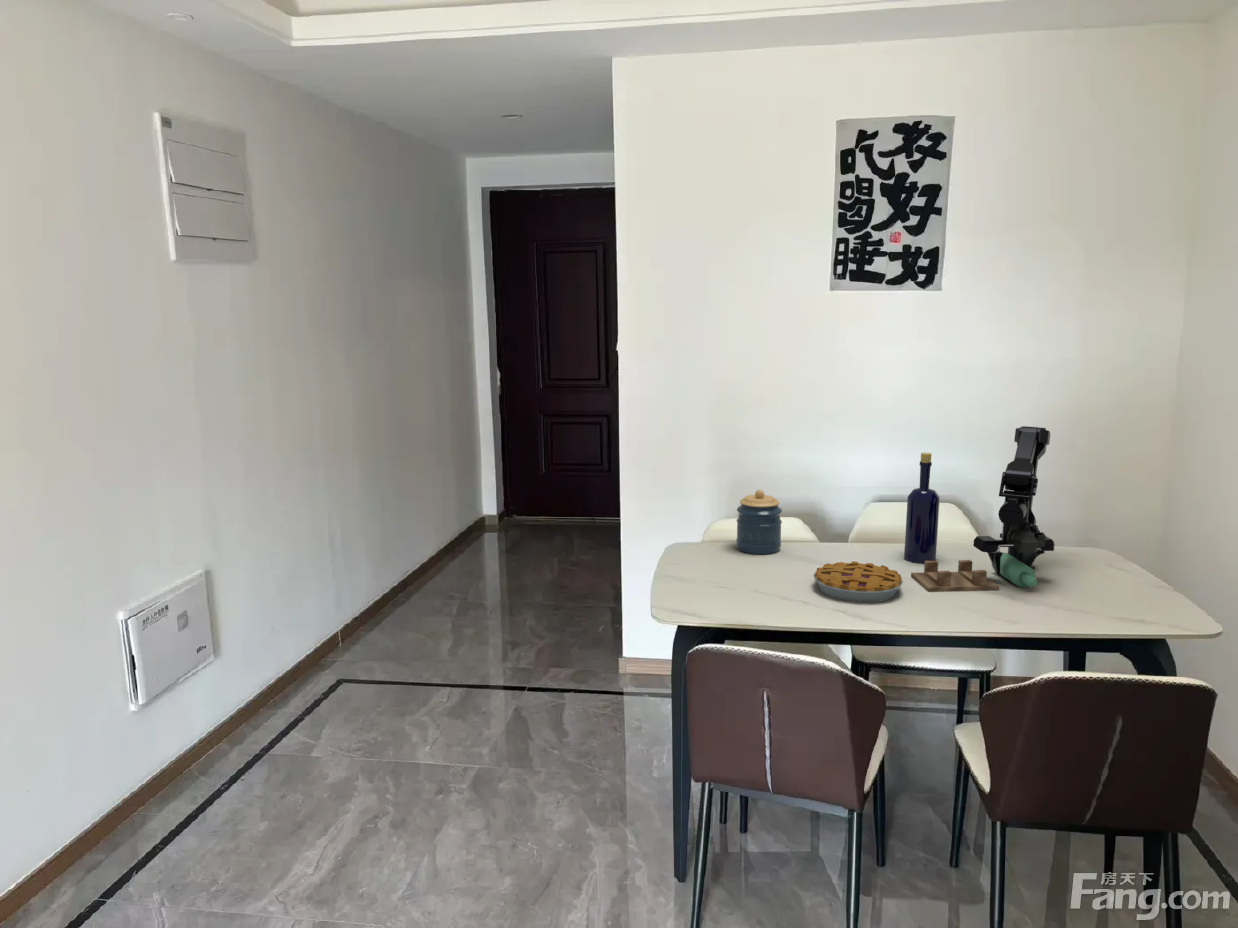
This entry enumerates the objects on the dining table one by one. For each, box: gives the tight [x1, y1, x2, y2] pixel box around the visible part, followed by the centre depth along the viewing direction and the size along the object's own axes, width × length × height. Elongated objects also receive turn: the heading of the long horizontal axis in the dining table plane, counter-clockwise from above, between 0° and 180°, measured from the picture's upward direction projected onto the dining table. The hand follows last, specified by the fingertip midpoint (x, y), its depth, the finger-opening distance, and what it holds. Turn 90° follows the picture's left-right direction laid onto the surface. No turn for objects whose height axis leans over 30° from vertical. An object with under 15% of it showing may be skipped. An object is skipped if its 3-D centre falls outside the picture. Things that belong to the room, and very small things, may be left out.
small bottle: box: [991, 551, 1038, 588], centre depth 227 cm, size 16×6×6 cm, turn 2°
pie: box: [813, 560, 904, 603], centre depth 223 cm, size 22×22×5 cm
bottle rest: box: [910, 559, 1001, 593], centre depth 227 cm, size 18×12×4 cm, turn 92°
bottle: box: [903, 452, 941, 565], centre depth 245 cm, size 9×9×30 cm
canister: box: [735, 489, 783, 555], centre depth 258 cm, size 13×13×18 cm
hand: (1011, 575), depth 229 cm, fingers open, 7 cm apart
